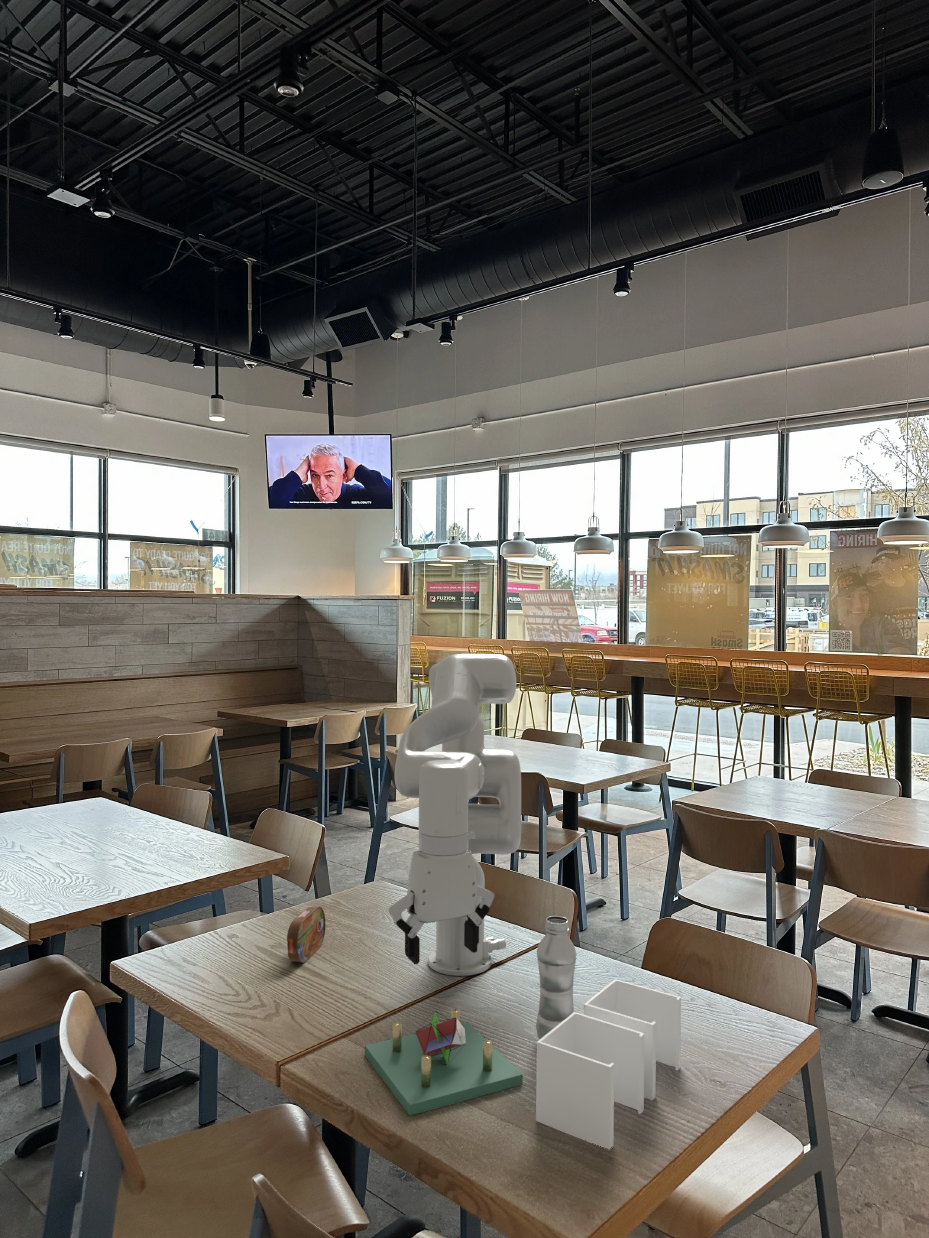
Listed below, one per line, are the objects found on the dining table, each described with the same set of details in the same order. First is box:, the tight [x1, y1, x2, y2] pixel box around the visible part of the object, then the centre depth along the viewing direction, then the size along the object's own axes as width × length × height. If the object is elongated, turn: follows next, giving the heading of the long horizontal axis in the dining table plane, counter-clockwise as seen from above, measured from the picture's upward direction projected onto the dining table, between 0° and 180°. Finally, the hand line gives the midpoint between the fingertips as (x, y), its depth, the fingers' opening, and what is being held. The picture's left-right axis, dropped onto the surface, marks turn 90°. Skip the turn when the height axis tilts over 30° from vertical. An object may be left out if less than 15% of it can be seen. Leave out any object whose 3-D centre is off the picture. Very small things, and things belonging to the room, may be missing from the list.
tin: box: [286, 905, 326, 964], centre depth 172 cm, size 15×3×8 cm, turn 168°
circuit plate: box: [364, 1021, 524, 1116], centre depth 129 cm, size 18×18×2 cm
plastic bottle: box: [535, 915, 577, 1041], centre depth 137 cm, size 6×7×20 cm
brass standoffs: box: [392, 1009, 493, 1088], centre depth 129 cm, size 11×12×4 cm
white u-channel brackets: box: [535, 978, 682, 1149], centre depth 123 cm, size 25×11×11 cm, turn 145°
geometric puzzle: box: [414, 1009, 466, 1066], centre depth 129 cm, size 7×7×8 cm
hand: (442, 954), depth 129 cm, fingers open, 9 cm apart
